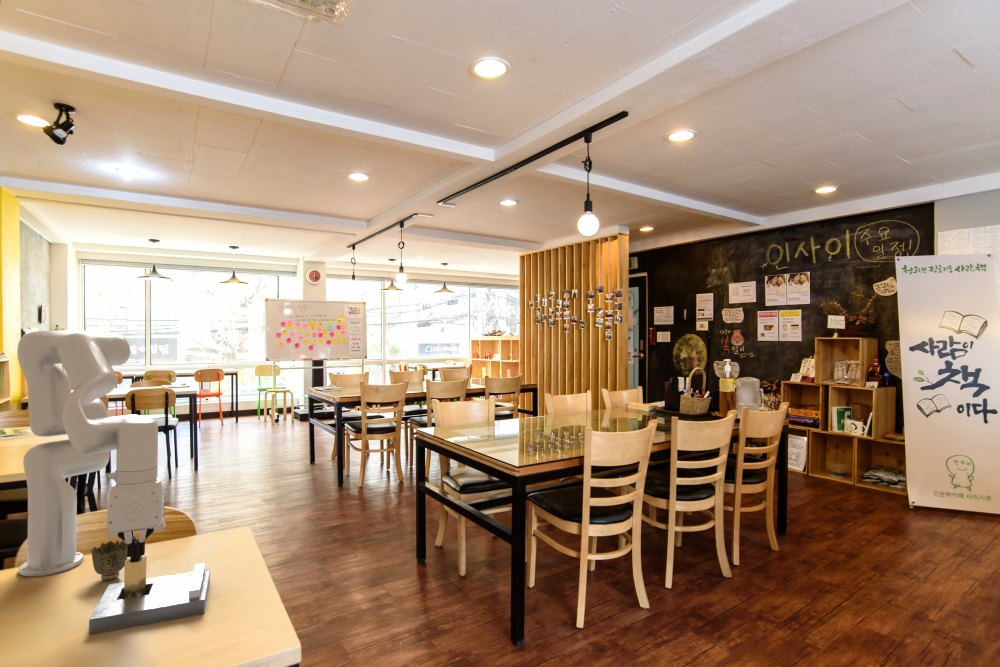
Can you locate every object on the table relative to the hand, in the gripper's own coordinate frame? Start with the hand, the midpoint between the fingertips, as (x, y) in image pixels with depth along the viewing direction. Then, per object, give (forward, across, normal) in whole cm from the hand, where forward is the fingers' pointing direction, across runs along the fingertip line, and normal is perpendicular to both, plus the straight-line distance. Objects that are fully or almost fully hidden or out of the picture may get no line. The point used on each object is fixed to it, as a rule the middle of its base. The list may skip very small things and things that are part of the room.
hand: (136, 559), depth 116 cm
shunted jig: (+10, +4, -2) cm, 11 cm away
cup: (+10, -8, +17) cm, 22 cm away
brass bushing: (+10, 0, 0) cm, 10 cm away
